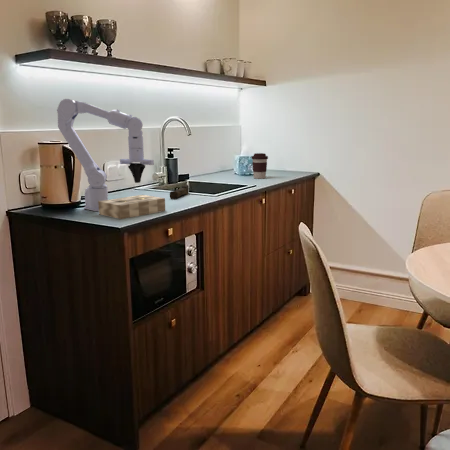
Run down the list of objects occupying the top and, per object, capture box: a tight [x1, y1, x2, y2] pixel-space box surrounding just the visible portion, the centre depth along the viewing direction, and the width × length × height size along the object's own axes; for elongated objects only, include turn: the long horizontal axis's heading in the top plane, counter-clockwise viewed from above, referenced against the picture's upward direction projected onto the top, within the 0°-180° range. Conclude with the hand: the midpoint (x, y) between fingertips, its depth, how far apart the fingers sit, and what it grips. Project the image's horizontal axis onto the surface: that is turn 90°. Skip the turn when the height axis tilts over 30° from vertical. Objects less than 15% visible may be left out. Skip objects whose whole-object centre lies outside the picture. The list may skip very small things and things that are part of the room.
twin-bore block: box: [98, 194, 166, 220], centre depth 181 cm, size 14×21×5 cm, turn 138°
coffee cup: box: [251, 152, 269, 180], centre depth 286 cm, size 10×10×15 cm
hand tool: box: [169, 184, 190, 200], centre depth 221 cm, size 19×4×5 cm, turn 161°
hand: (137, 182), depth 189 cm, fingers closed
